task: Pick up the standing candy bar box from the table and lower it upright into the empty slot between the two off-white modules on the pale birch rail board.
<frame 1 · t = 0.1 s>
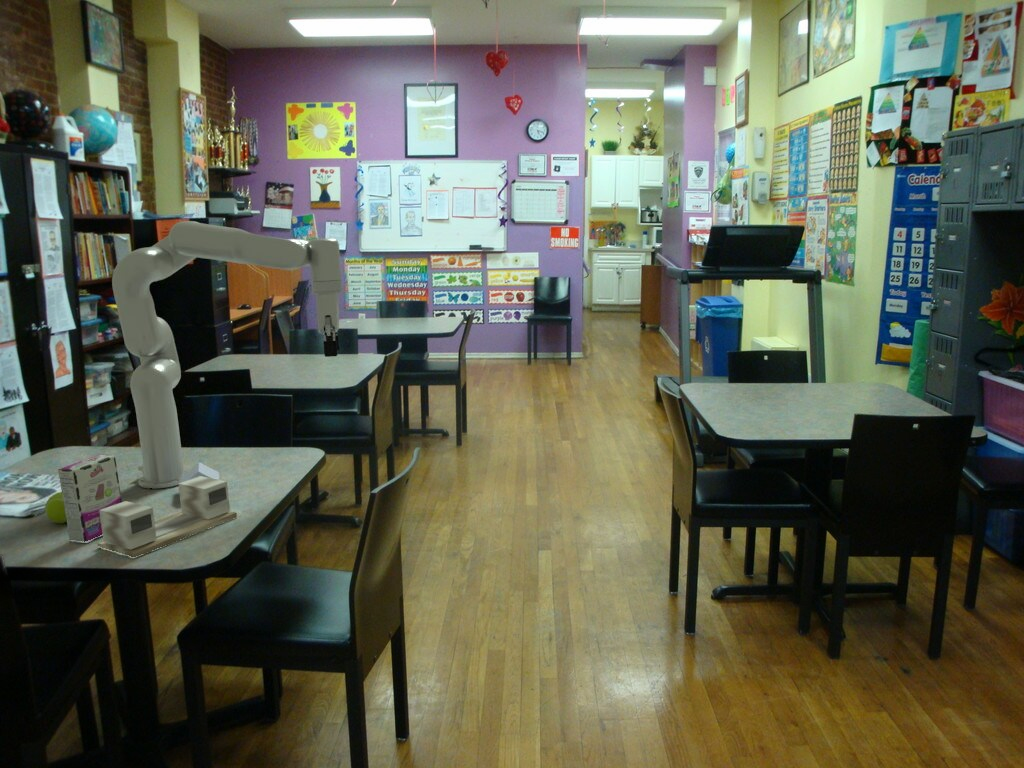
hand: (332, 353, 218), 31 cm above the table, tool pointing down, fingers open, 9 cm apart
rail board: (170, 532, 182), on the table
white angular piece: (201, 496, 207), on the table
tennis ball: (65, 523, 191), on the table
candy bar box: (97, 534, 183), on the table
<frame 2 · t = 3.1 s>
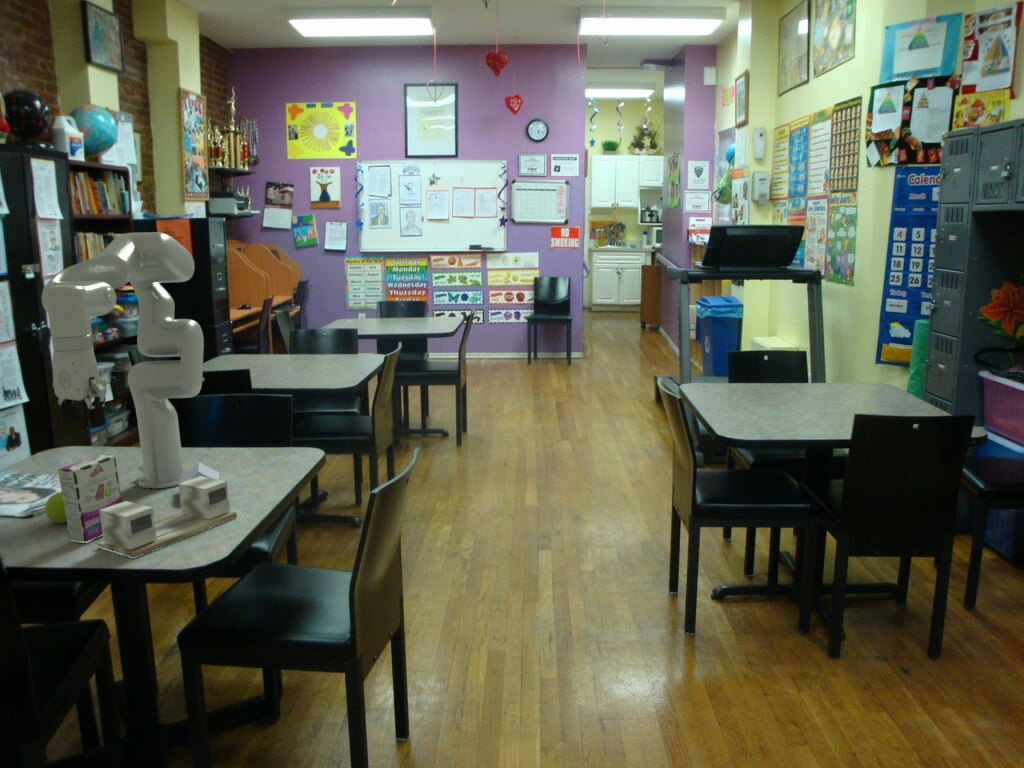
hand: (83, 424, 178), 25 cm above the table, tool pointing down, fingers open, 9 cm apart
nothing on the table moved.
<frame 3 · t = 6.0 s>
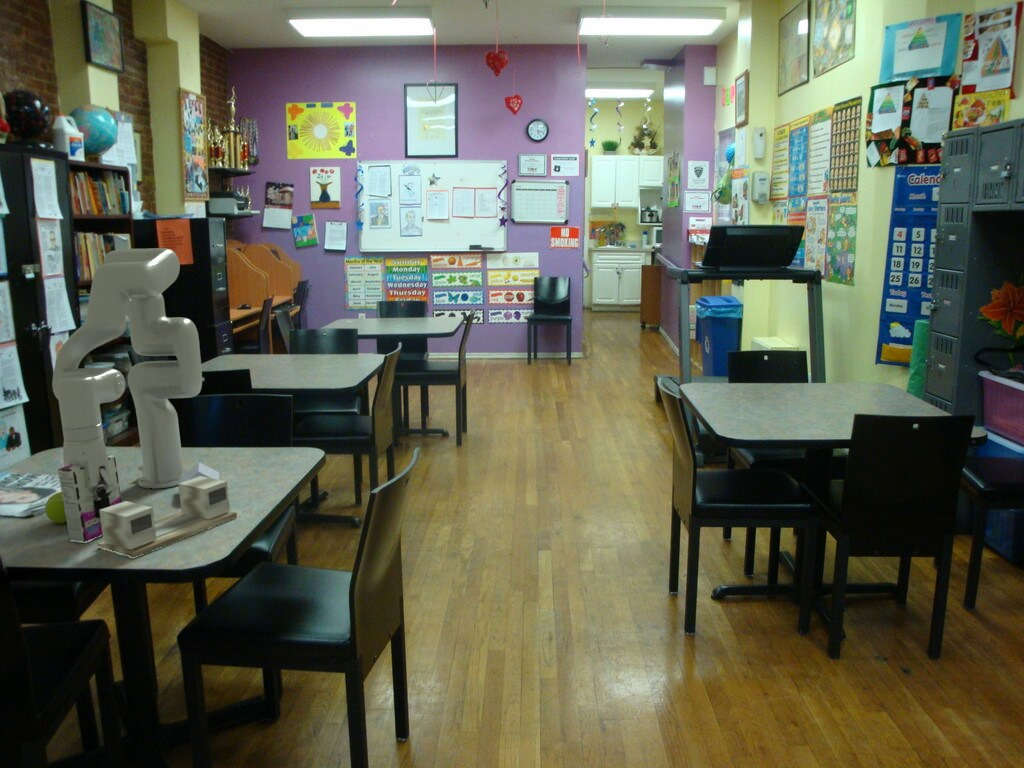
hand: (94, 513, 182), 5 cm above the table, tool pointing down, fingers closed on candy bar box, 5 cm apart
candy bar box: (97, 534, 183), on the table, touching gripper
everything else where it was.
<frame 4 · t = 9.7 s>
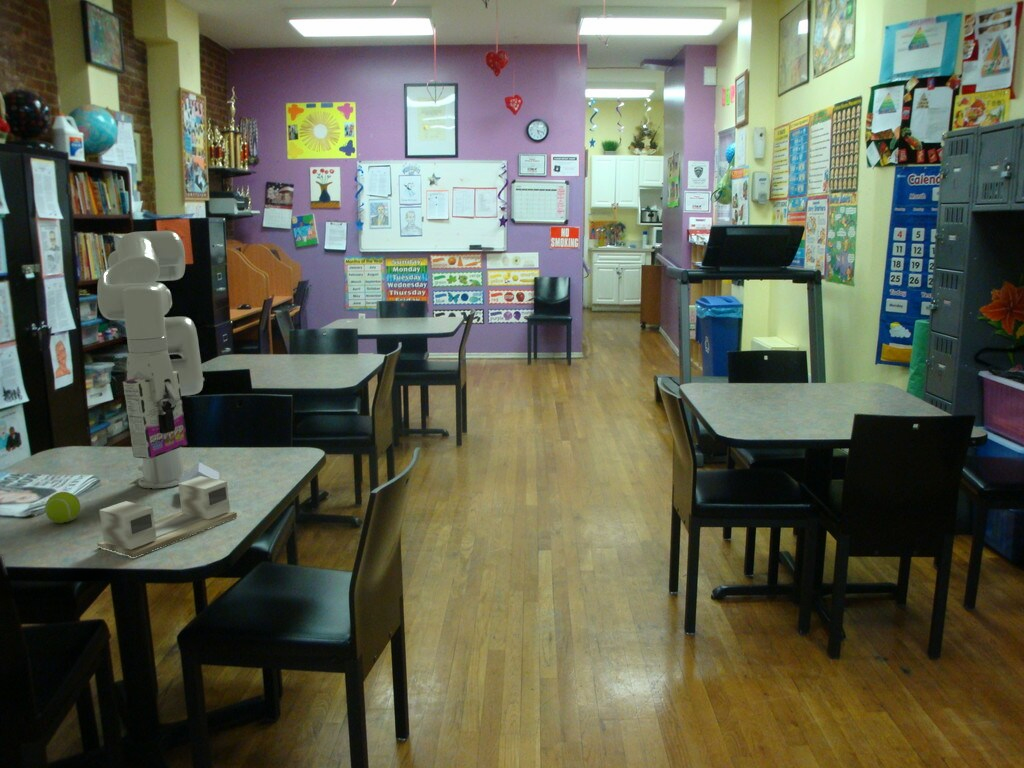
hand: (158, 429, 178), 23 cm above the table, tool pointing down, fingers closed on candy bar box, 5 cm apart
candy bar box: (160, 452, 179), point 18 cm above the table, touching gripper
everything else where it was.
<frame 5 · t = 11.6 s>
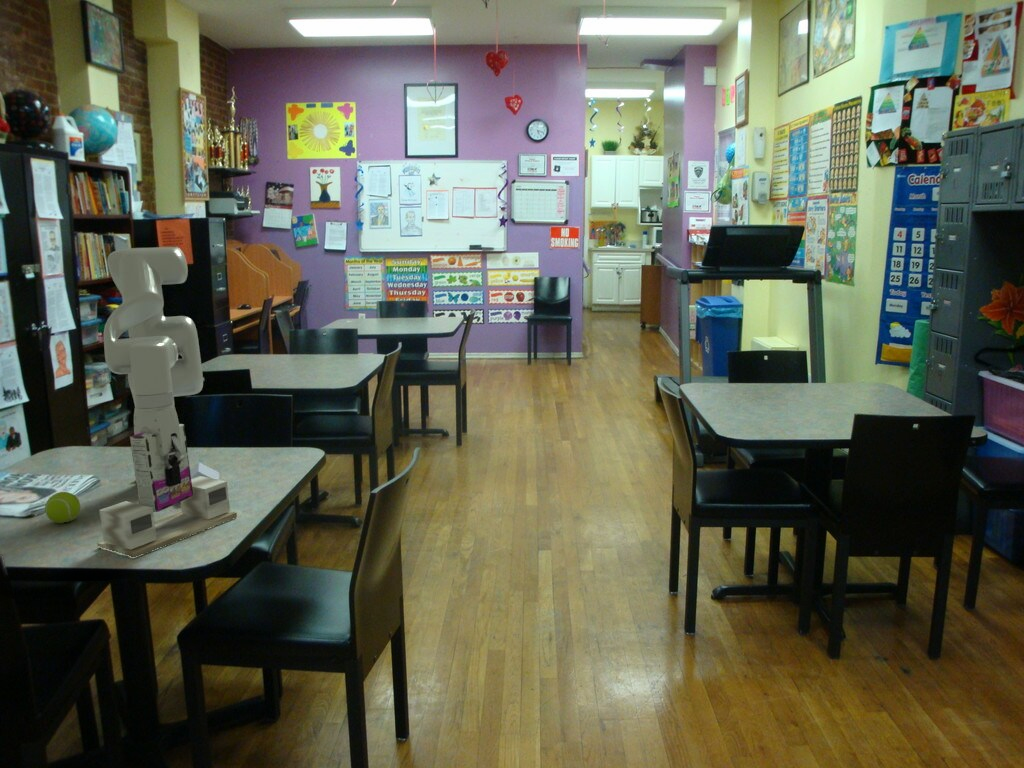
hand: (164, 482, 180), 11 cm above the table, tool pointing down, fingers closed on candy bar box, 5 cm apart
candy bar box: (166, 504, 181), point 6 cm above the table, touching gripper
everything else where it was.
when the fingers open (8 cm above the table, at t = 13.3 s): candy bar box drops 1 cm, resting on rail board.
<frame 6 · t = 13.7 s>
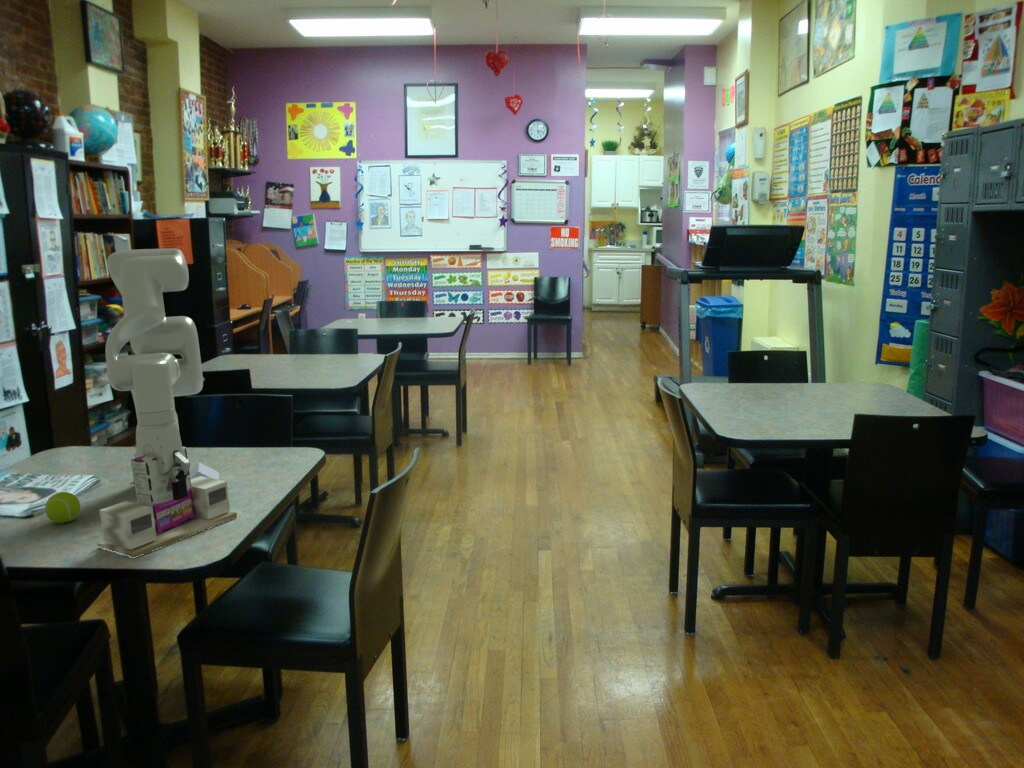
hand: (166, 495, 181), 8 cm above the table, tool pointing down, fingers open, 9 cm apart
candy bar box: (168, 526, 182), point 1 cm above the table, touching rail board
everything else where it was.
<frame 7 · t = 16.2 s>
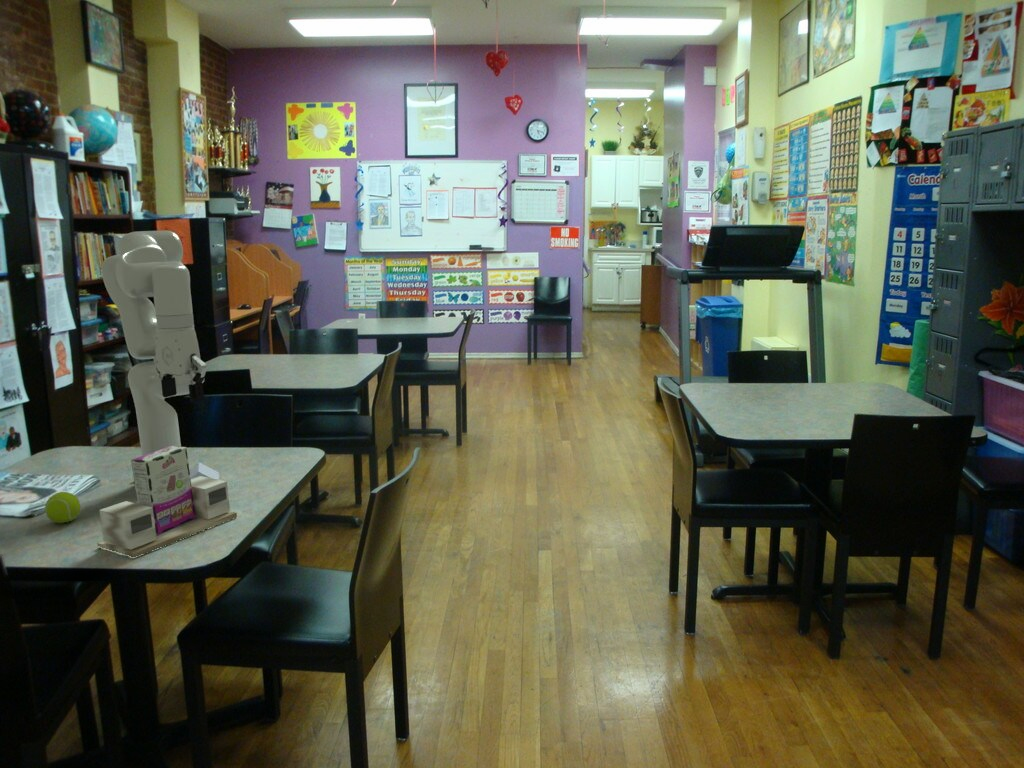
hand: (183, 398, 187), 27 cm above the table, tool pointing down, fingers open, 9 cm apart
nothing on the table moved.
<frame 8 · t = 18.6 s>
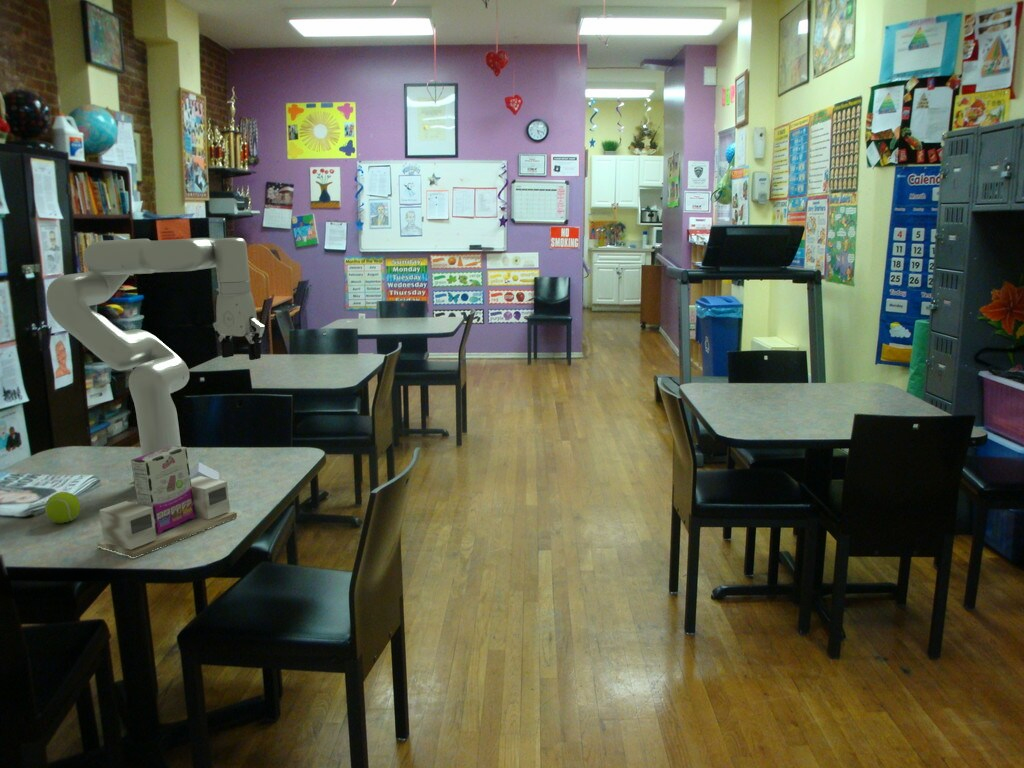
hand: (241, 358, 209), 32 cm above the table, tool pointing down, fingers open, 9 cm apart
nothing on the table moved.
at the end: candy bar box 0.4 cm from the target spot, point 1.3 cm above the table; candy bar box tilted 0°; the gripper is holding nothing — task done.
